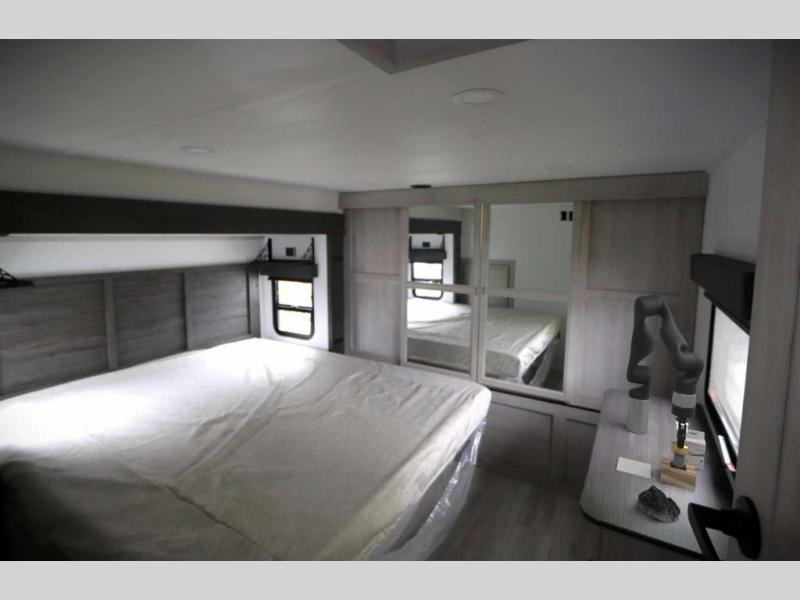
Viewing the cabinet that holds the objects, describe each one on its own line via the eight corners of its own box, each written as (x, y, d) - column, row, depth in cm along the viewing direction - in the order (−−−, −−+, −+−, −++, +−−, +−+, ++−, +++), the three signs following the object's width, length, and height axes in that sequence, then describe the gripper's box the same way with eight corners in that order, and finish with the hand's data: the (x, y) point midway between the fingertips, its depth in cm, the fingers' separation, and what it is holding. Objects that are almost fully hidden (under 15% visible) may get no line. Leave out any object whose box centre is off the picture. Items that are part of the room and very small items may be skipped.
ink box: (678, 465, 175) (681, 432, 173) (677, 460, 179) (680, 427, 177) (703, 470, 170) (706, 437, 168) (702, 465, 174) (705, 432, 172)
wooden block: (660, 469, 171) (661, 456, 170) (693, 477, 165) (694, 463, 165) (660, 482, 162) (661, 468, 161) (694, 491, 156) (696, 476, 155)
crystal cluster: (672, 504, 150) (671, 477, 150) (688, 526, 137) (687, 496, 137) (631, 501, 154) (630, 475, 153) (643, 522, 140) (642, 493, 140)
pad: (618, 458, 181) (618, 456, 181) (650, 465, 174) (651, 464, 174) (616, 470, 171) (616, 469, 171) (650, 479, 164) (650, 478, 164)
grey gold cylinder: (668, 474, 168) (671, 439, 166) (685, 478, 165) (688, 443, 163) (668, 481, 163) (671, 445, 161) (685, 485, 160) (689, 449, 158)
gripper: (671, 395, 167) (668, 433, 170) (672, 407, 155) (668, 448, 158) (694, 399, 163) (690, 438, 166) (696, 411, 151) (692, 453, 154)
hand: (680, 443), depth 162 cm, fingers open, 8 cm apart
